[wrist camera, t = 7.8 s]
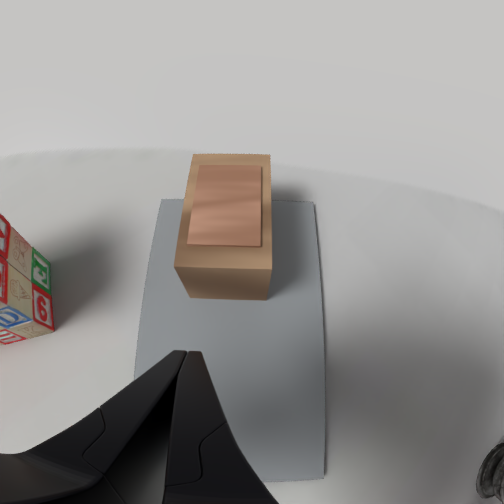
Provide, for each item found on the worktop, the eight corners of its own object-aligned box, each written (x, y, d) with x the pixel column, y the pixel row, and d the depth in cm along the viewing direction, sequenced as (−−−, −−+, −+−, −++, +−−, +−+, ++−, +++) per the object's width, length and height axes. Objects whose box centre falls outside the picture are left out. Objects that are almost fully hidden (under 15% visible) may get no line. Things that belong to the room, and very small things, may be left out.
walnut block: (272, 267, 15) (270, 152, 19) (172, 264, 15) (192, 151, 19) (266, 300, 20) (266, 200, 23) (190, 298, 20) (201, 199, 23)
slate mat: (321, 476, 15) (323, 478, 14) (133, 466, 15) (130, 467, 14) (311, 205, 24) (313, 202, 23) (162, 202, 24) (161, 199, 23)
